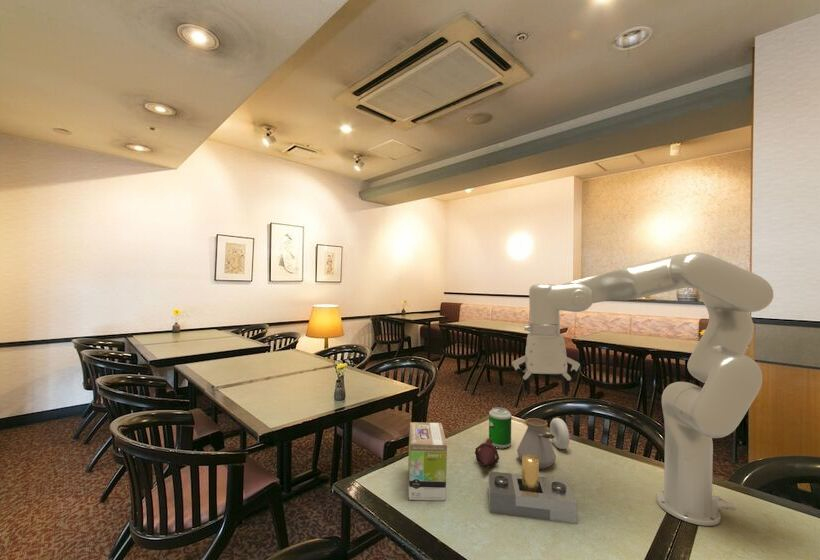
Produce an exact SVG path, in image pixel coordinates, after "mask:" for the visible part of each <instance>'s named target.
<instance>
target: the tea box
mask: <svg viewBox="0 0 820 560" xmlns="http://www.w3.org/2000/svg"><path fill="white" fill-rule="evenodd" d="M408 431H409V432H408V433H409V434H408V458H407V459H408V468H407V469H408V470H407V471H408V472H407V473H408V474H407V476H408V477H407V478H408V481H407V482H408V500H410V501H446V499H447V468H448V467H447V465H448V464H447V463H448V462H447V461H448V460H447V458H448V457H447V456H448V444H447V439H446V435H445V431H444V426H443V424H442V422H417V421H415V422H414V421H413V422H412V421H411V422H409V430H408Z"/></svg>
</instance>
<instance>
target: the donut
mask: <svg viewBox="0 0 820 560" xmlns="http://www.w3.org/2000/svg"><path fill="white" fill-rule="evenodd" d="M569 431H570V430H569V428H568V426H567V423H566V422H565V421H564V420H563V419H562V418H559V417H554V418H552V420H551V421H550V424H549V434H552V435H554V438H552V439H551V442H552V444H553V443H554V444H553V445H554V446H555V447H556V448H558V449H560V450H565V449H567V448H568V447H569V445H570V438H571V437H570V432H569ZM555 437H556V438H557V439H556V438H555ZM557 440H558V441H557ZM556 442H557V443H556Z"/></svg>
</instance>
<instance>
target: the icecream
mask: <svg viewBox="0 0 820 560" xmlns="http://www.w3.org/2000/svg"><path fill="white" fill-rule="evenodd" d="M492 442H493V441H492V439H491V438H489V437H488V438H487V439H486V441H485V442H483V443H481V444H480V445H478V446H477V447H476V448H475V451H474V454H475V459H476V461H477V462H478V463H479V464H480V465H481V466H482V467H487V466H489V467H488V468H493V467H494V466H496V464H497V463H499V460H500V455H499V453H498V452H499V451H498V450H497V448H495V447H494V446H493V445H492Z"/></svg>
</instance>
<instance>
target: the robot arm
mask: <svg viewBox="0 0 820 560" xmlns="http://www.w3.org/2000/svg"><path fill="white" fill-rule="evenodd" d="M682 289H696V290H698V292H699V297H700V299H701V301H702V302H703V304H704V305H705V308H706V309H707V313H708V323H707V327H706V328H705V331H704V333H703V334H702V336H701V338H700V339H699V341H698V342H697V344H696V346H695V348H694V349H693V351H692V353H691V355H689V356H690V357H689V359H688V361H687V370H688V373H689V374H690V375H691V376H692V377H693V378H694V379H697V380H698V381H699V382H702V383H703V386H702V387H700V386H699V385H697V384H694V383H691V382H687V381H675V382H673V383H669V384H668V385H667V386H666V387H665V389H663V391H662V394H661V408H662V415H663V421H664V472H663V473H664V477H663V478H664V483H663V487H664V489H663V491H662V490H661V491H659V492H658V493H657V494H656V502H657V504H658V505H659V507H660V508H662V509H663V511H665V513H666V512H667V513H668V514H670V515H672V516H673V517H675V518H676V519H679V520H681V521H684V522H686V523H689V524H692V525H698V526H702V527H703V526H706V527H711V526H713V527H714V526H716V525H718V524H719V523H721V514H720V512H719V511H721V510H729V511H736V507H737V506H736V504H735V502H733V501H732V500H725V499H722V496H721V495H715V494H714V495H713V463H714V462H713V460H714V459H713V455H714V443H713V439H721V438H724V437H726V436H727V437H728V436H729V435H730V434H732V433H733V432H734V431H735V430H736V429H737V428H738V427H739V425H740V423H741V422H742V420H743V419H744V418H745V415H746V414H747V412H749V411H748V410H749V409H750V407H751V405H752V404H753V403H754V401H755V399H756V397H757V396H758V394H759V392H760V391H761V389H762V388H761V387H762V384H763V372H762V370H761V367H760V366H759V364H758V363H757V362H756V361H755V360H754V359H753V358H751V357H750V356H748V355H746V354H745V353H746V351H747V350H748V347H749V345H750V343H751V342H752V340H753V336H754V330H755V329H754V322H753V319H752V316H751V313H755V312H760V311H762V310H764V309H766V308H767V307H769V305H770V304H771V303H772V302H773V299H774V290H773V287H772V286H771V283H769V282H768V280H766V279H765V278H764V277H762V276H760V275H758V274H756V273H753V272H751V271H749V270H747V269H744V268H743V267H740V266H737V265H735V264H733V263H731V262H728V261H726V260H724V259H722V258H719V257H717V256H715V255H713V254H708V253H704V252H699V251H698V252H687V253H681V254H674V255H670V256H666V257H662V258H658V259H654V260H649V261H647V262H642V263H639V264H634V265H630V266H629V265H628V266H627V267H622V268H617V269H615V270H612V271H608V272H605V273H600V274H597V275H591V276H588V277H585V278H581V279H575V280H573V281H568V282H565V283H561V284H560V285H556V284H551V283H545V284H544V283H543V284H542V283H541V284H539V283H538V284H532V285H531V286H530V287H529V292H528V293H529V294H528V295H529V296H528V297H529V305H528V306H529V323H528V325H524V327H523V328H524V331H525V332H526V331H527V332H529V334H527V336H526V341H525V342H526V343H525V355H523V356H521V357H518V358H517V359H515V360H513V361H512V362H511V364H512V366H513V368H514V370H515V371H516V373H517V374H518V375H519V376H520V377H521V378H522V390H523V391H524V392H525V393H526V395H530V394H531V387H530V385H531V384H530V383H531V382H530V381H531V380H530V379H529V377H530V376H531V375H532V374H537V375H562V378H561V393H562V394H563V395H564V396H569V393H570V390H571V383H570V381H571V380H572V378H573V377H574V376H575V375H577V374H578V373H577V372H578V370H579V369H580V366H581V364H580V362H578V361H577V360H574V359H573V358H571V357H568V356H567V348H566V344H565V342H566V341H565V338H564V335H562V334H561V329H560V327H561V326H560V325H561V324H560V322H561V320H560V319H561V318H560V311H565V312H571V313H572V312H574V313H580V312H583V311H584V312H585V311H586V310H588V309H589V308H591V306H592V305H593V304H595V303H601V302H610V301H630V300H639V299H642V298H645V297H646V298H647V297H650V296H655V295H658V294H663V293H668V292H672V291H676V290H682ZM524 363H525V369H524V370H522V368H520V365H521V364H524ZM568 364H569V365H571V368H570V369H569V370H568Z"/></svg>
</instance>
